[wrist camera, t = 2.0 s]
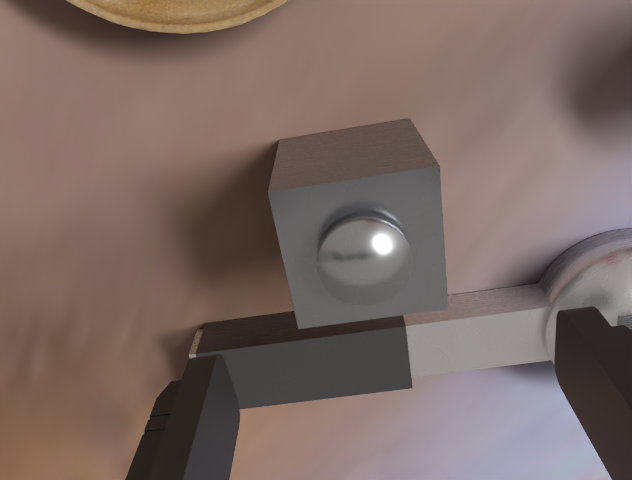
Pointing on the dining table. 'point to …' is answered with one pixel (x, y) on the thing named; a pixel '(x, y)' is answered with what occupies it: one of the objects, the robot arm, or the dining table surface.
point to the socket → (360, 224)
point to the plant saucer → (178, 13)
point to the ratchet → (421, 333)
